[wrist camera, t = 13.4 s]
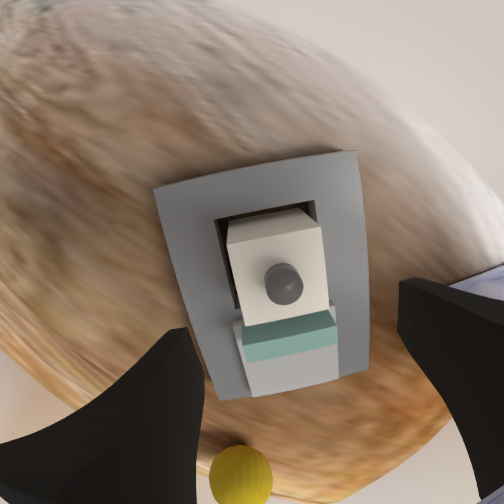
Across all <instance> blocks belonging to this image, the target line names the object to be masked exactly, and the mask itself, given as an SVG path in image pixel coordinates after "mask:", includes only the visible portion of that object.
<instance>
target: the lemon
mask: <svg viewBox="0 0 504 504" xmlns="http://www.w3.org/2000/svg"><path fill="white" fill-rule="evenodd" d="M209 482H210V487H211V490H212V494H213V496H214V498H215V500H216V501H217V502H218V503H219V504H264V503H265V502H266V501H267V500H268V498H269V496H270V493H271V490H272V484H273V476H272V471H271V467H270V464H269V462H268V460H267V459H266V458H265V456H264V455H263V454H262V453H260V452H259V451H258V450H256V449H254V448H251V447H248V446H243V445H241V444H239V445H236V446H233V447H229V448H227V449H225V450H223V451H221V452H220V453H219V454H218V455H217V456H216V457H215V459H214V460H213V463H212V465H211V469H210V473H209Z"/></svg>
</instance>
